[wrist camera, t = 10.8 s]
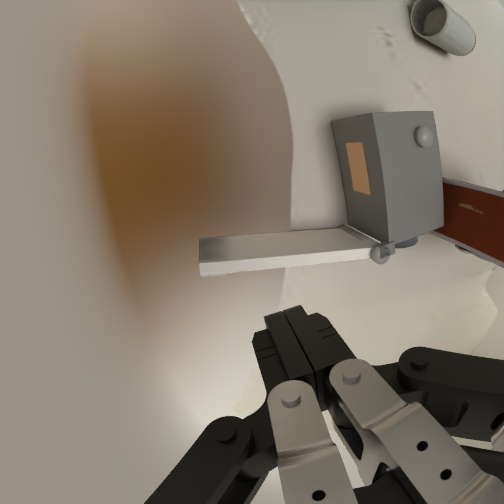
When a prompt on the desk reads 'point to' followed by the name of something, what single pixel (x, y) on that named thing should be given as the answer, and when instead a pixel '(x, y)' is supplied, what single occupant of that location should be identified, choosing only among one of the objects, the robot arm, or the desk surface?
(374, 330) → the desk surface
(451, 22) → the ceramic mug
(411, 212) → the block
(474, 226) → the cine camera
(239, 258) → the side door
